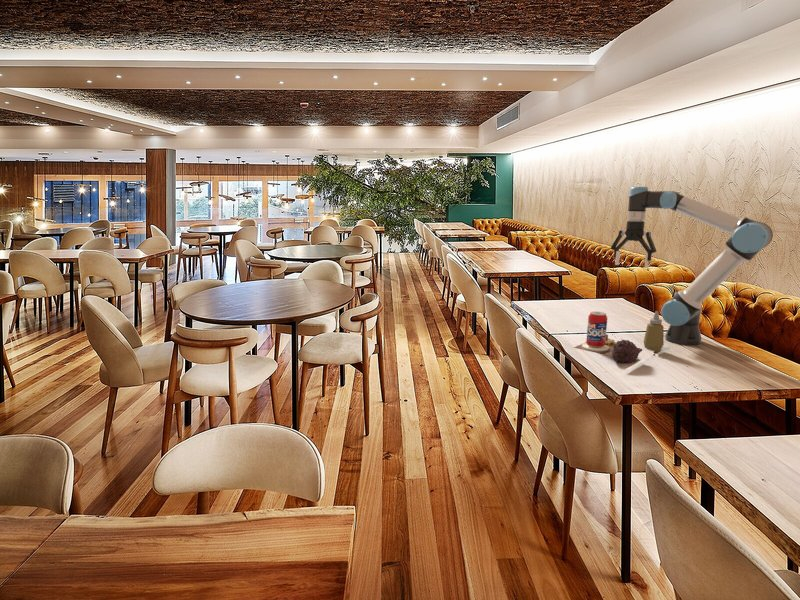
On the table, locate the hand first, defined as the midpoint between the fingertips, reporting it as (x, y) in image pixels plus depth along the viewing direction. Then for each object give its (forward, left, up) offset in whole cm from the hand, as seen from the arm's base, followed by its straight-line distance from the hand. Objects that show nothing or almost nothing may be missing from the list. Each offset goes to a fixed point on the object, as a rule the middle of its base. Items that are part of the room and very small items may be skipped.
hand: (631, 266), depth 252 cm
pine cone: (-16, +41, -35) cm, 56 cm away
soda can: (0, +32, -33) cm, 46 cm away
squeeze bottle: (-18, +14, -35) cm, 42 cm away
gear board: (0, +28, -35) cm, 45 cm away
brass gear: (0, +22, -33) cm, 40 cm away
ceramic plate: (0, +32, -33) cm, 46 cm away
